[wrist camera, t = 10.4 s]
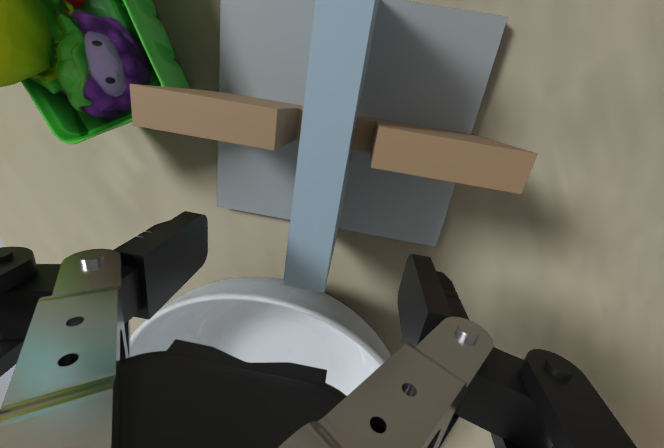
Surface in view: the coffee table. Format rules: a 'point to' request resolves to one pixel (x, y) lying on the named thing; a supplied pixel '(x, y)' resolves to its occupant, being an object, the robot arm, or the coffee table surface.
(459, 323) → the robot arm
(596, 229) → the coffee table surface
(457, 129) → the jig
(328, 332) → the serving bowl
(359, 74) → the slotted plate
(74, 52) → the fruit basket
